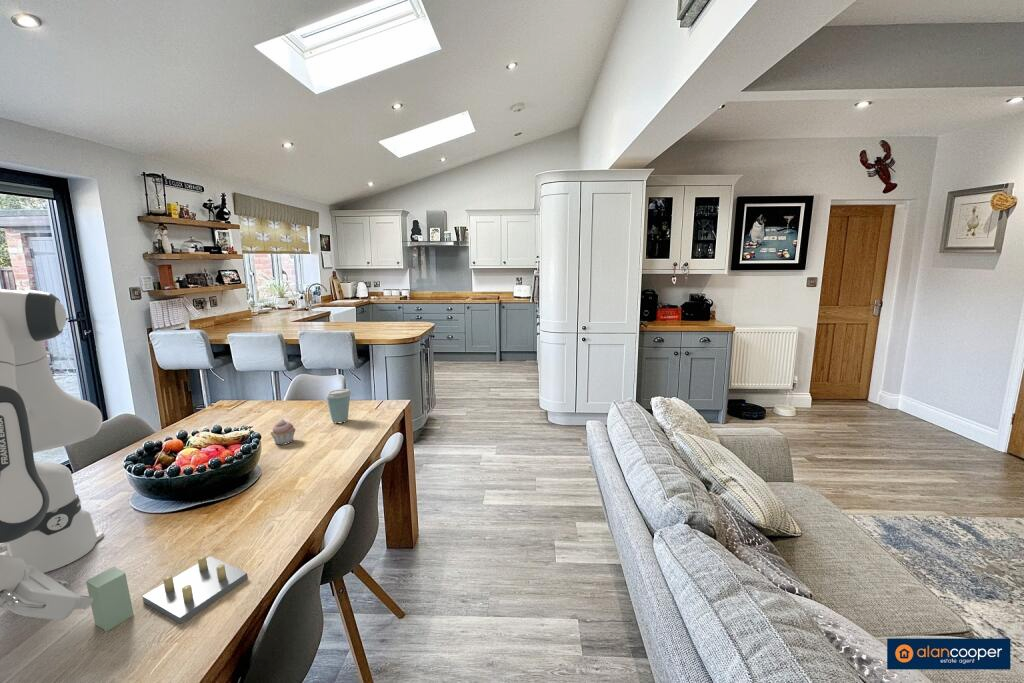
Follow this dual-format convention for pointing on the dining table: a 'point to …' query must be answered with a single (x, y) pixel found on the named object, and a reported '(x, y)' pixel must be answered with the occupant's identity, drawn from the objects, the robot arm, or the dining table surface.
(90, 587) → the green block
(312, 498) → the dining table surface
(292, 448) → the dining table surface
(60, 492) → the robot arm
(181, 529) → the dining table surface
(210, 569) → the plate
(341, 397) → the disposable coffee cup
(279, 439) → the cupcake
